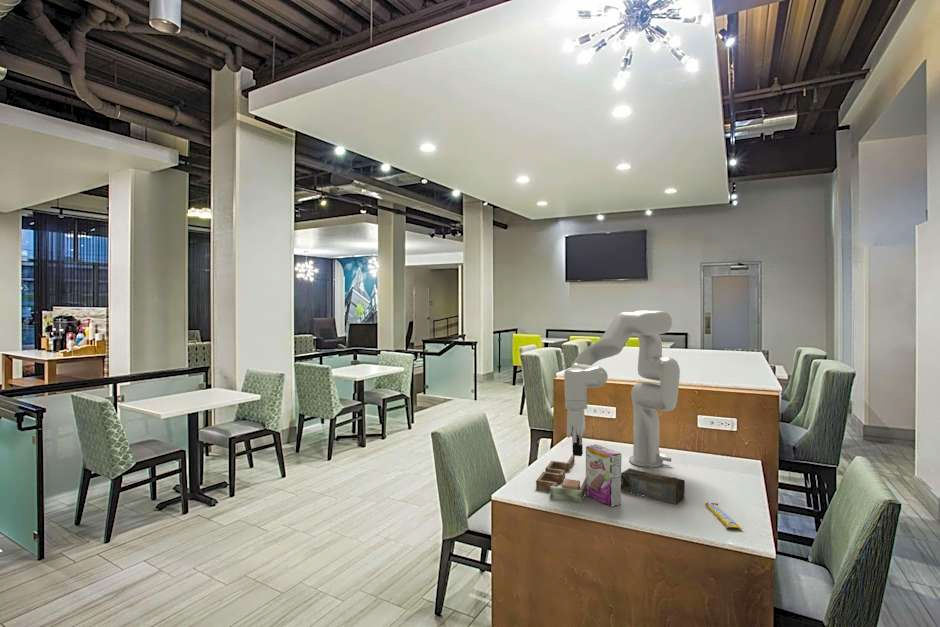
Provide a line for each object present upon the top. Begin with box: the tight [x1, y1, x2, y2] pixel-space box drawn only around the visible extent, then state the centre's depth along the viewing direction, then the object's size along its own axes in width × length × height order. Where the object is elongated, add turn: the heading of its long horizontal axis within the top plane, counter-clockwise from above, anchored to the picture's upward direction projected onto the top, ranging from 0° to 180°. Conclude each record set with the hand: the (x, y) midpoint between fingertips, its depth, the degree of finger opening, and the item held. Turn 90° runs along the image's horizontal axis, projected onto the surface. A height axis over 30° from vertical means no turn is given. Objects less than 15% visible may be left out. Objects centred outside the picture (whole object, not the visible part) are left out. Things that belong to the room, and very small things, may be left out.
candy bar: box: [704, 502, 744, 530], centre depth 146 cm, size 17×4×2 cm, turn 175°
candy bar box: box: [585, 444, 622, 507], centre depth 159 cm, size 11×5×16 cm, turn 32°
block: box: [561, 478, 581, 490], centre depth 164 cm, size 5×6×4 cm
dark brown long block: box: [621, 467, 686, 505], centre depth 164 cm, size 8×19×7 cm, turn 50°
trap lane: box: [535, 454, 586, 503], centre depth 177 cm, size 16×38×4 cm, turn 158°
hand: (577, 455), depth 175 cm, fingers closed
